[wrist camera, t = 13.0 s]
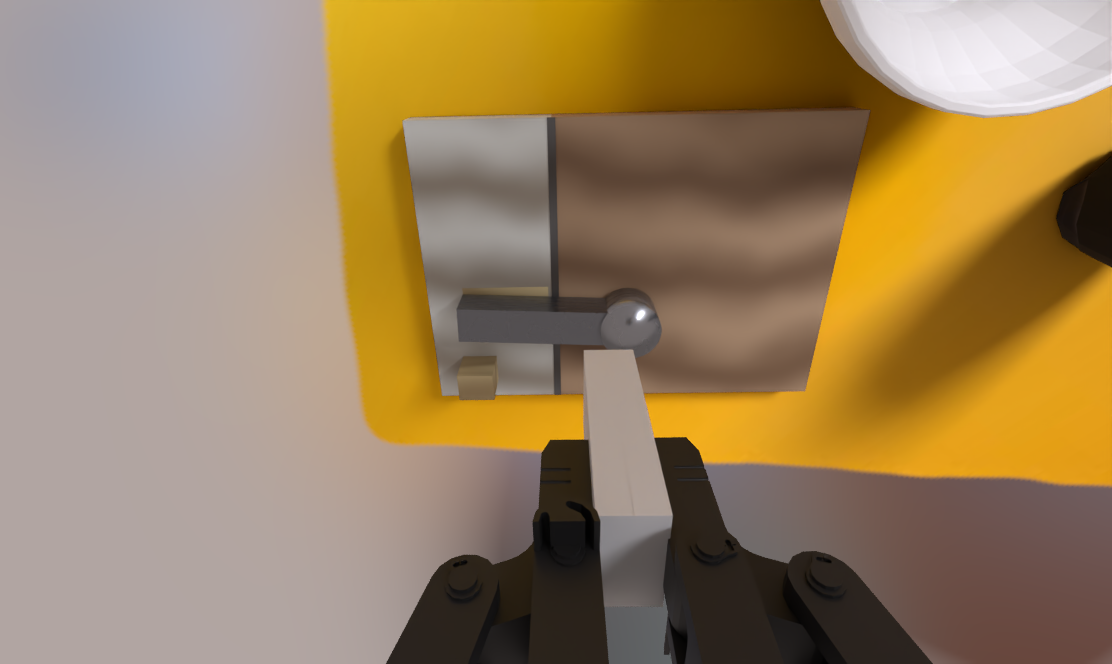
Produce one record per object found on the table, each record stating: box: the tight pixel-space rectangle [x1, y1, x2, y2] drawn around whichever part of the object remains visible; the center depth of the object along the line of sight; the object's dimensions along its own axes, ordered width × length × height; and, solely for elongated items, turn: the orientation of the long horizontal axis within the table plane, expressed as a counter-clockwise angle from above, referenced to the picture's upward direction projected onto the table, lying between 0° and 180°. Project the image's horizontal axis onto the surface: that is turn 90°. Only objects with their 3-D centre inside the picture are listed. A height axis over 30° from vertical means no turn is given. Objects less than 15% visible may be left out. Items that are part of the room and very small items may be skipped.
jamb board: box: [403, 107, 870, 400], centre depth 36 cm, size 20×28×5 cm
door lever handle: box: [456, 288, 662, 358], centre depth 36 cm, size 14×4×3 cm, turn 89°
